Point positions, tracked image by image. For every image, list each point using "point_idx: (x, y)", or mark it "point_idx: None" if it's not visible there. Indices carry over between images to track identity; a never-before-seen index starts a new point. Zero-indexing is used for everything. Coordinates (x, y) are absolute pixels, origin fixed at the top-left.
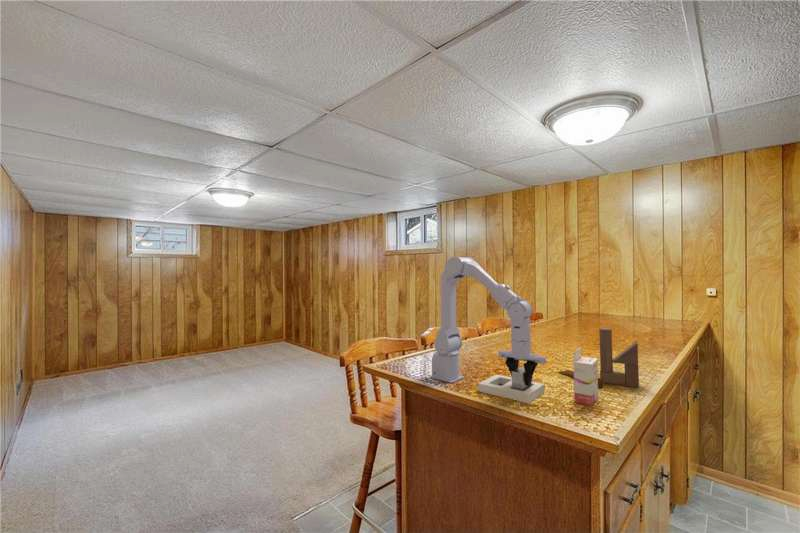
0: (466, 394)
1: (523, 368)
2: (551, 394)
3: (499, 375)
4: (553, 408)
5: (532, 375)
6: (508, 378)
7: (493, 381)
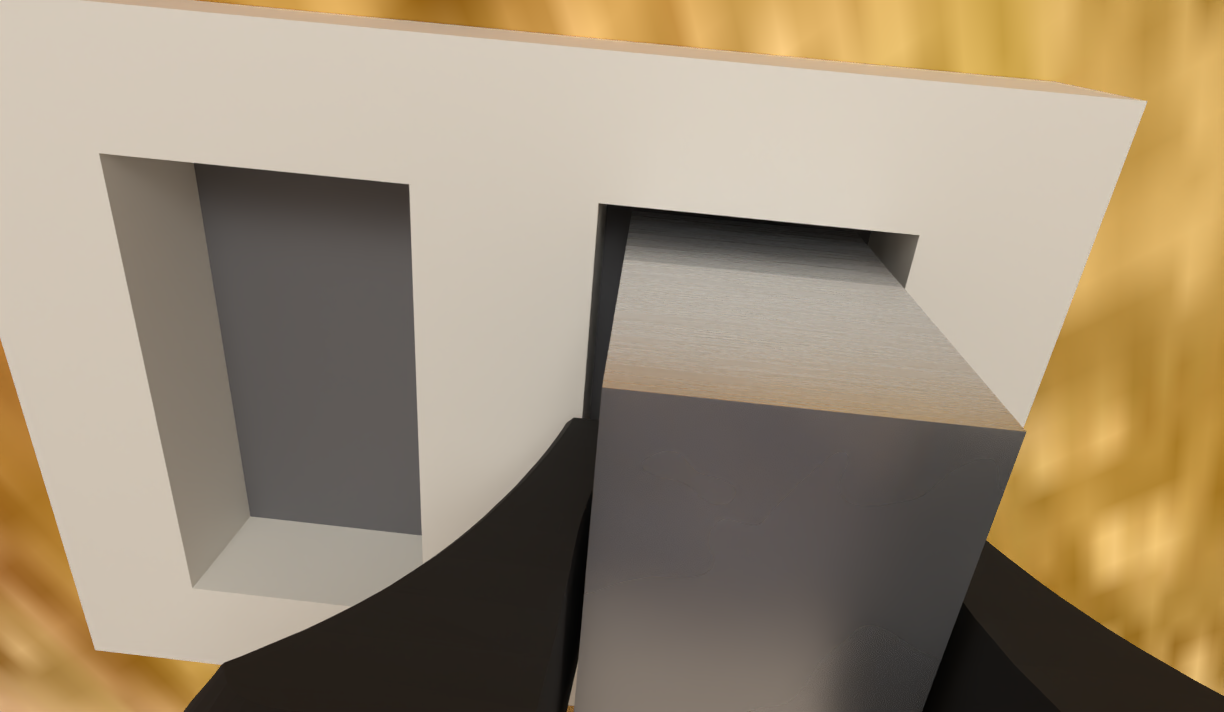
0: (148, 698)
1: (746, 570)
2: (1182, 144)
3: (4, 30)
4: (1176, 650)
5: (998, 565)
6: (294, 151)
7: (168, 414)
